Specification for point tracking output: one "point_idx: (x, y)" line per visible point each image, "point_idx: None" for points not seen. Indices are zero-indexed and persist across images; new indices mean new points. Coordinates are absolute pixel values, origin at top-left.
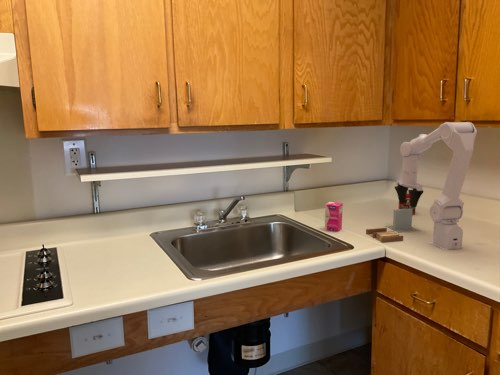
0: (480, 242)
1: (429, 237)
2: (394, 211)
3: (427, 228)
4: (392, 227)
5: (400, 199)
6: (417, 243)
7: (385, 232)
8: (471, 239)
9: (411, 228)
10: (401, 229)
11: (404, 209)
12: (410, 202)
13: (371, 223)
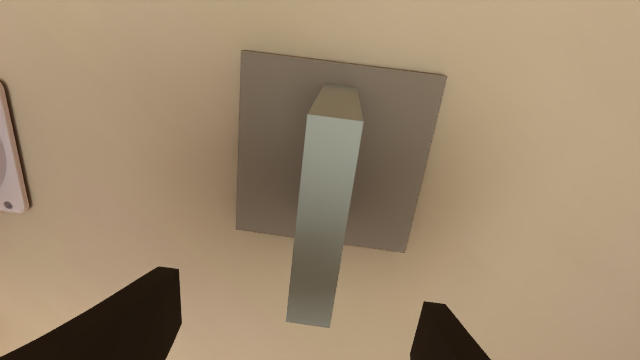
0: (11, 341)
1: (126, 191)
2: (343, 113)
3: None
4: (385, 108)
5: (442, 352)
6: (6, 13)
7: None
8: None
9: None
10: None
11: (313, 246)
12: (133, 303)
13: (612, 52)
